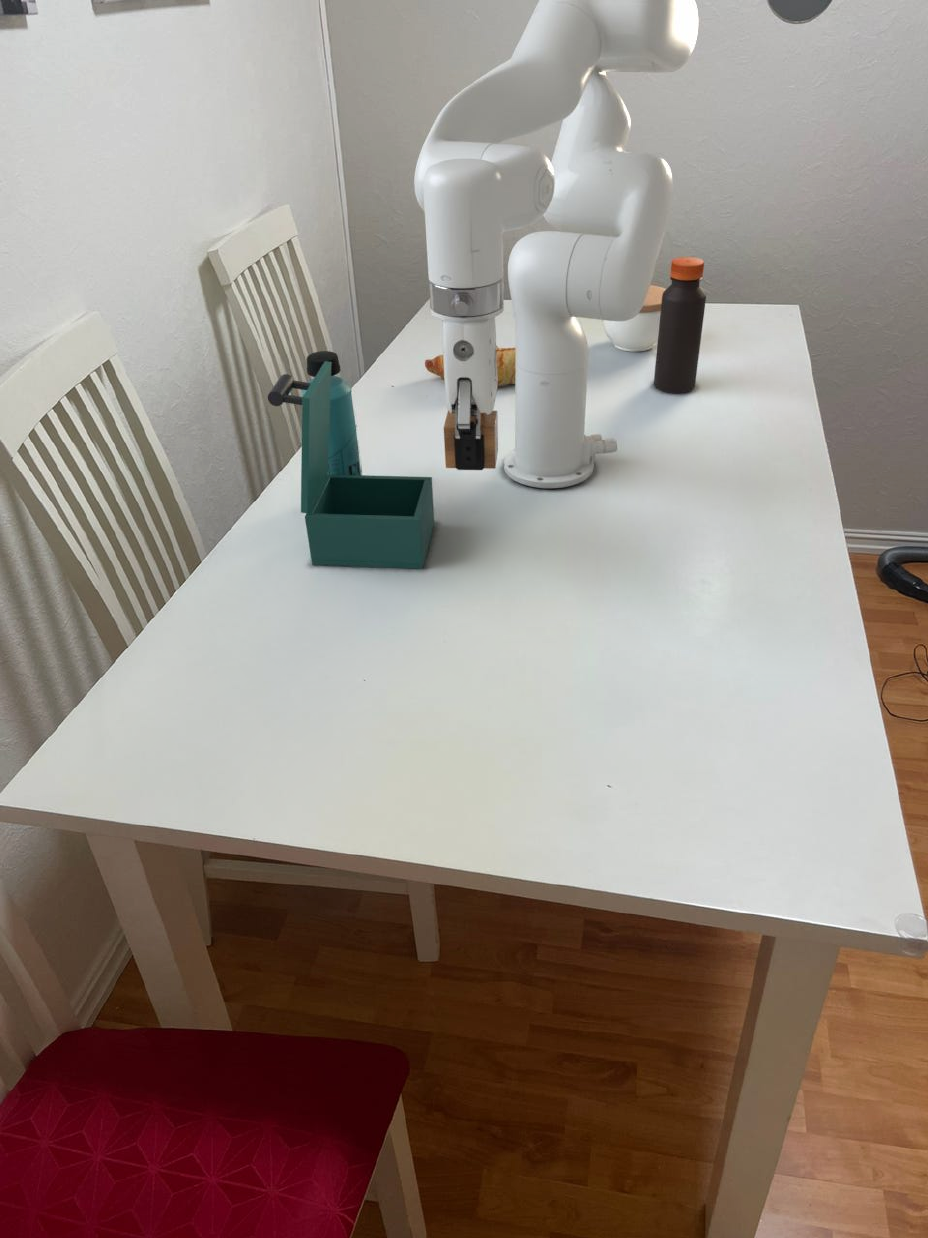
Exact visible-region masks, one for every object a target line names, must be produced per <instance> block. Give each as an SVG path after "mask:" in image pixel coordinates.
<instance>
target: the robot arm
mask: <svg viewBox="0 0 928 1238" xmlns="http://www.w3.org/2000/svg"><path fill="white" fill-rule="evenodd" d="M698 30H699V14H698V7H697V3H696V1H695V0H538V2H537V4H536V6H535V8H534V10H533V12H532V14H531V15H530V19H529V21H528V23H527V25H526V27H525V29H524V31H523V33H522V35H521V36H520V39H519V41H518V43H517V45H516V47H515V49H514V51H513V53H512V56H511V57H510V58H509V59H508V60H506V61H504V62H502V63H501V64H499V65H497V66H496V67H495V68H492V69H491V70H489V71H487V72H486V73H485V74H483V75H482V76H480V77H479V78H478V79H476V80H475V81H473V82H472V83H470V84H469V85H467V86H466V87H464V88H463V89H462V90H460V91H459V92H458V93H457V94H456V95H454V96H453V97H452V98H451V99H450V100H449V101H448V102H447V103H446V104H445V105H444V107H443V108H442V109H441V110H440V112H439V113H438V115H437V116H436V118H435V121H434V123H433V124H432V126H431V128H430V131H429V132H428V134H427V136H426V138H425V141H424V143H423V145H422V147H421V149H420V152H419V155H418V158H417V162H416V166H415V169H414V170H415V171H414V176H413V179H414V180H413V186H414V187H413V188H414V195H415V198H416V201H417V203H418V206H419V207H420V208H421V210H422V211H423V212H424V222H425V223H424V224H425V238H426V256H427V257H426V258H427V273H428V291H429V309H430V311H429V312H430V314H431V315H432V317H434V318H435V319H438V320H440V321H441V334H442V335H441V336H442V337H441V339H442V340H441V341H442V355H443V362H444V379H445V380H444V379H443V380H444V391H445V393H444V394H445V403H446V410H447V412H448V411H449V412H450V413H451V414H453V413H454V411H455V435H454V446H455V467H456V468H455V469H456V470H457V471H483V470H484V469H485V468H484V465H485V464H484V435H481V413H486V414H487V415H488V414H490V413H491V412H492V411H494V410H495V404H496V398H497V392H498V386H497V385H498V374H497V352H496V345H497V332H496V331H497V329H496V327H497V326H496V317H499V316H500V315H502V314H503V312H504V310H505V309H504V307H505V304H504V303H505V302H504V296H505V295H504V239H503V238H504V233H506V232H509V231H515V230H519V229H520V230H521V229H524V228H527V227H529V226H532V225H533V224H535V223H537V221H540V219H541V218H542V217H543V218H544V220H545V221H546V223H547V224H548V225H550V226H551V227H552V228H553V229H554V228H555V229H557V230H560V231H557V230H556V231H555V230H543V231H535V232H534V231H533V232H531V233H528V234H526V235H524V236H523V237H521V238H519V240H517V242H516V243H515V245H514V246H513V247H512V249H511V252H510V253H509V257H508V263H507V281H508V288H509V293H510V300H511V304H512V312H513V320H514V335H515V348H516V365H515V384H514V385H515V386H514V387H515V391H514V393H515V394H514V395H515V398H514V399H515V401H514V404H515V405H514V406H515V407H514V412H515V413H514V414H515V415H514V418H515V419H514V439H515V440H514V441H515V442H514V449H512V450H510V451H509V452H508V453H507V454H506V455H505V458H504V461H503V470H504V471H505V474H506V476H507V477H509V479H511V480H513V481H515V482H516V483H518V484H521V485H523V486H527V487H531V488H536V489H537V488H538V489H563V488H568V487H572V486H576V485H578V484H580V483H582V482H584V481H586V480H587V479H588V478H590V476H591V475H592V474H593V471H594V469H595V468H594V465H595V462H594V458H595V457H596V456H597V455H598V454H611V453H615V452H617V451H618V443H617V439H616V438H615V437H612V438H605V439H603V438H602V435H601V433H597V434H591V435H586V434H585V425H586V406H587V405H586V404H587V388H588V370H589V369H588V368H589V343H588V340H587V336H586V333H585V331H584V328H583V327H582V325H581V323H580V321H579V319H578V318H583V319H590V320H599V321H602V320H608V321H627V320H630V319H632V318H634V317H635V316H636V315H637V314H638V313H639V312H640V310H641V309H642V306H643V304H644V302H645V299H646V297H647V294H648V290H649V287H650V285H651V283H652V280H653V276H654V273H655V270H656V269H655V268H656V265H657V262H658V257H659V254H660V250H661V247H662V244H663V240H664V236H665V234H666V233H665V232H666V228H667V226H668V222H669V217H670V213H671V208H672V202H673V193H674V183H673V182H674V180H673V174H672V170H671V168H670V165H669V164H668V163H667V161H666V160H665V159H664V158H663V157H660V156H659V155H657V154H654V153H648V152H641V151H640V152H639V151H626V147H627V143H628V140H629V136H630V134H631V126H632V125H631V124H632V122H631V116H630V114H629V111H628V109H627V107H626V105H625V103H624V100H623V99H622V97H621V96H620V94H619V92H618V90H617V89H616V88H615V87H614V85H612V83H611V81H610V80H609V78H608V75H607V72H609V73H612V72H613V73H657V74H658V73H660V74H661V73H674V72H676V71H678V70H680V69H681V68H683V67H684V65H685V64H686V63H687V62H688V61H689V59H690V57H691V55H692V53H693V51H694V49H695V45H696V42H697V37H698ZM560 122H561V127H560V129H559V133H558V138H557V141H556V144H555V148H554V151H553V154H552V157H551V161H550V159H549V158H548V156H547V155H546V154H545V153H544V152H542V151H541V150H539V149H538V148H535V147H533V146H528V145H522V144H510V143H509V144H507V143H502V142H505V141H508V140H510V139H515V138H518V137H521V136H525V135H528V134H532V133H535V132H538V131H540V130H543V129H547V128H549V127H551V126H553V125H556V124H558V123H560ZM471 416H475V423H474V421H471Z"/></svg>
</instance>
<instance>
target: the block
mask: <svg viewBox="0 0 928 1238" xmlns="http://www.w3.org/2000/svg"><path fill="white" fill-rule="evenodd" d="M498 415H499V413H498V410H493V411H492V412H491V413H490V414H488V415H487V414H486V413H481V435H484V464H485V465H484V469H486V470H487V469H488V470H491V469H492V470H493V469H496V467H497V459H498V453H499V432H498V431H499V425H498V423H499V419H498V418H499V417H498ZM471 421H474V423H475V416H471ZM454 435H455V411H454V413H453V414H451V413H450V412H449V411H448V410H447V413H446V417H445V420H444V425H443V441H444V442H443V443H444V461H445V462H444V463H445V468H446V469H456V467H455V446H454Z"/></svg>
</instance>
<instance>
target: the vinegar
mask: <svg viewBox="0 0 928 1238" xmlns="http://www.w3.org/2000/svg"><path fill="white" fill-rule="evenodd" d="M704 268H705V260H703V259H701V258H698V257H691V256H684V257H683V256H681V257H676V258H674V259H672V260H671V262H670V272H669V273H670V277H669V279H670V281H671V283H670V285H669V286H668V287H667V288H665V289H666V290H665V291H664V292H663V295H662V302H661V313H660V323H659V333H658V342H657V345H656V353H655V354H656V355H655V365H654V374H653V375H654V376H653V386H654V387H655V388H656V389H657V390H658V391H661V392H663V393H668V394H683V393H688V392H690V391H692V390H693V389H695V387H696V382H697V374H698V373H697V372H698V366H699V365H698V364H699V357H700V349H701V341H702V333H703V325H704V319H705V318H704V317H705V309H706V301H707V293H706V292H705V291H704V289H703V288H702V287H701V285H700V284H701V283H700V282H701V281H703V275H704Z"/></svg>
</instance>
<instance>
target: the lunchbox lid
mask: <svg viewBox="0 0 928 1238" xmlns="http://www.w3.org/2000/svg"><path fill="white" fill-rule="evenodd" d="M313 379H314V380H313V381H312V383H309V382H306V381H299V380H295V378H294V377H293V376H292V375H290V374H289V373H288V374H287V373H284V374H282V375H280V377H279V378H278V380H277V381H276V382H275V384H274V385H273V387H272V388H271V390H270V391H269V392H268V394H267V401H268V402H269V404H270V405H271V406H273V407H281V406H282V405H283V404H284V403H285V404H292V405H299V406H301V460H300V461H301V462H300V464H301V467H300V468H301V469H300V513H301V514H306V513H308V511H309V509H310V507H311V505H312V503H313V501H314V499H315V497H316V495H317V493H318V491H319V489H320V487H321V484H322V482H323V480H324V478H325V476H326V474H327V472H328V454H329V424H330V393H331V362H327V361H325V362H324V363H323V365H322V367H321V368H320V370H319V372H318V373H317V375H316V376H315V377H313ZM293 389H295V390H302V391H303V390H307V391H306V392H305V394H304V396H299V395H293V394H290V393H291V392H292V390H293Z"/></svg>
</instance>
